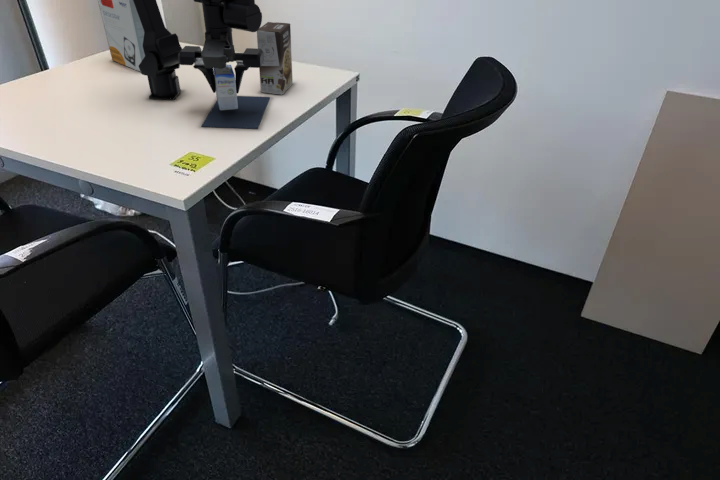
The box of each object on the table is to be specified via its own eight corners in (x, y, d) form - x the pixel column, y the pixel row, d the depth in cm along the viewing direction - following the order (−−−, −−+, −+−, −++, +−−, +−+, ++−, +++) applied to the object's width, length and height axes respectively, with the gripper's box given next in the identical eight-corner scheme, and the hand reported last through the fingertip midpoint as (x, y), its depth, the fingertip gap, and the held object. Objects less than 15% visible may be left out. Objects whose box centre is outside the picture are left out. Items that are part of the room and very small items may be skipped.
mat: (201, 127, 124) (201, 125, 124) (219, 96, 140) (219, 95, 140) (257, 129, 124) (257, 127, 124) (269, 98, 140) (269, 97, 140)
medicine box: (216, 100, 134) (212, 64, 129) (235, 98, 135) (231, 63, 130) (219, 111, 127) (214, 74, 122) (238, 109, 128) (234, 73, 124)
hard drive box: (111, 61, 159) (93, -12, 147) (133, 55, 164) (118, -16, 152) (142, 73, 151) (126, -3, 140) (165, 66, 156) (152, -7, 145)
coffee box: (283, 95, 142) (280, 32, 132) (260, 92, 143) (255, 29, 133) (293, 83, 149) (291, 22, 139) (271, 81, 150) (267, 20, 140)
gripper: (165, 33, 113) (177, 104, 123) (253, 36, 114) (259, 107, 123) (180, 19, 122) (190, 86, 132) (262, 23, 123) (266, 89, 132)
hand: (226, 92), depth 129 cm, fingers closed on medicine box, 5 cm apart
